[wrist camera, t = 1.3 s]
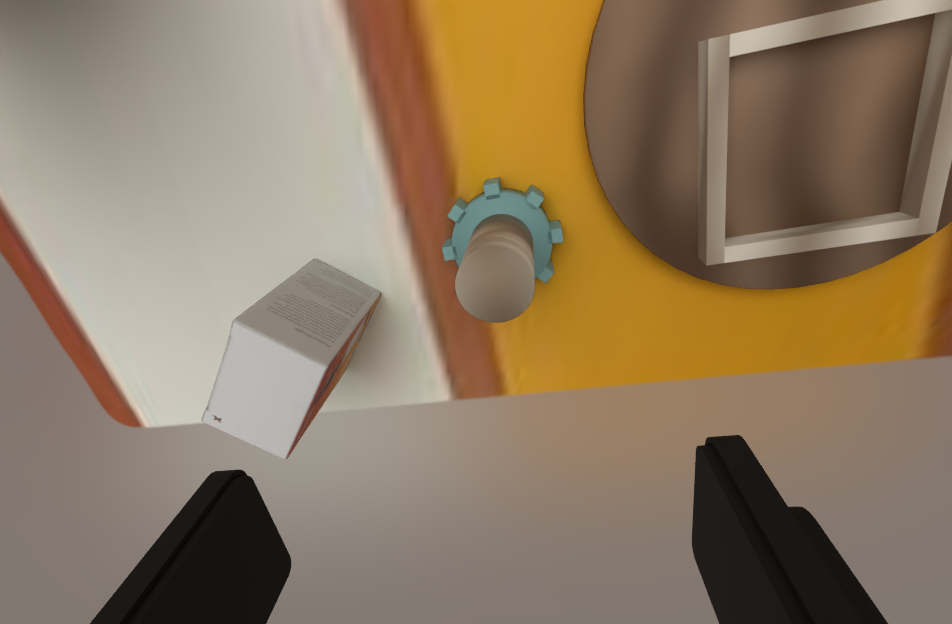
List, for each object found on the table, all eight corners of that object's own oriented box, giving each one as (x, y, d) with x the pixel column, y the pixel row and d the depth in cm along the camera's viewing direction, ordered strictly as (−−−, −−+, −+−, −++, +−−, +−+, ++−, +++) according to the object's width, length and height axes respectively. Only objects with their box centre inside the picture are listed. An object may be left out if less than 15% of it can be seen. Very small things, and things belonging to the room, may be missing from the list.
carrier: (1155, -310, 19) (1327, -419, 15) (998, 249, 29) (1076, 276, 25) (560, -133, 23) (567, -180, 19) (601, 303, 33) (611, 333, 29)
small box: (346, 369, 37) (285, 464, 28) (282, 338, 37) (197, 424, 27) (384, 291, 34) (330, 368, 25) (314, 254, 33) (230, 320, 24)
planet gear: (552, 167, 29) (562, 197, 21) (566, 280, 32) (580, 343, 24) (435, 189, 30) (401, 225, 22) (459, 295, 34) (438, 361, 25)
